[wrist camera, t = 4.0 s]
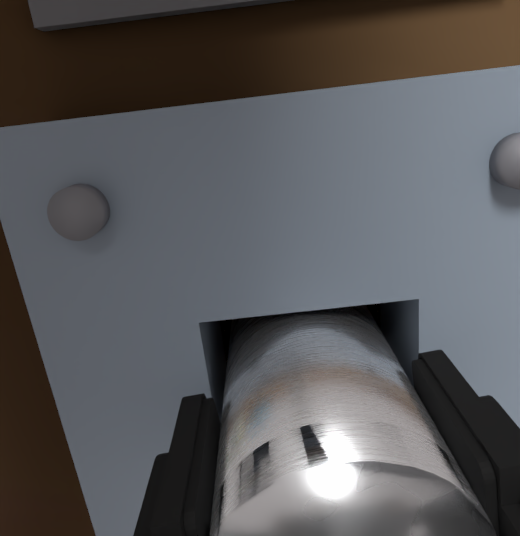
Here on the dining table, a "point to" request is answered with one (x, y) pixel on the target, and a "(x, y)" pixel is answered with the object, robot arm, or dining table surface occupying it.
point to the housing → (259, 246)
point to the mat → (120, 10)
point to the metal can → (331, 437)
